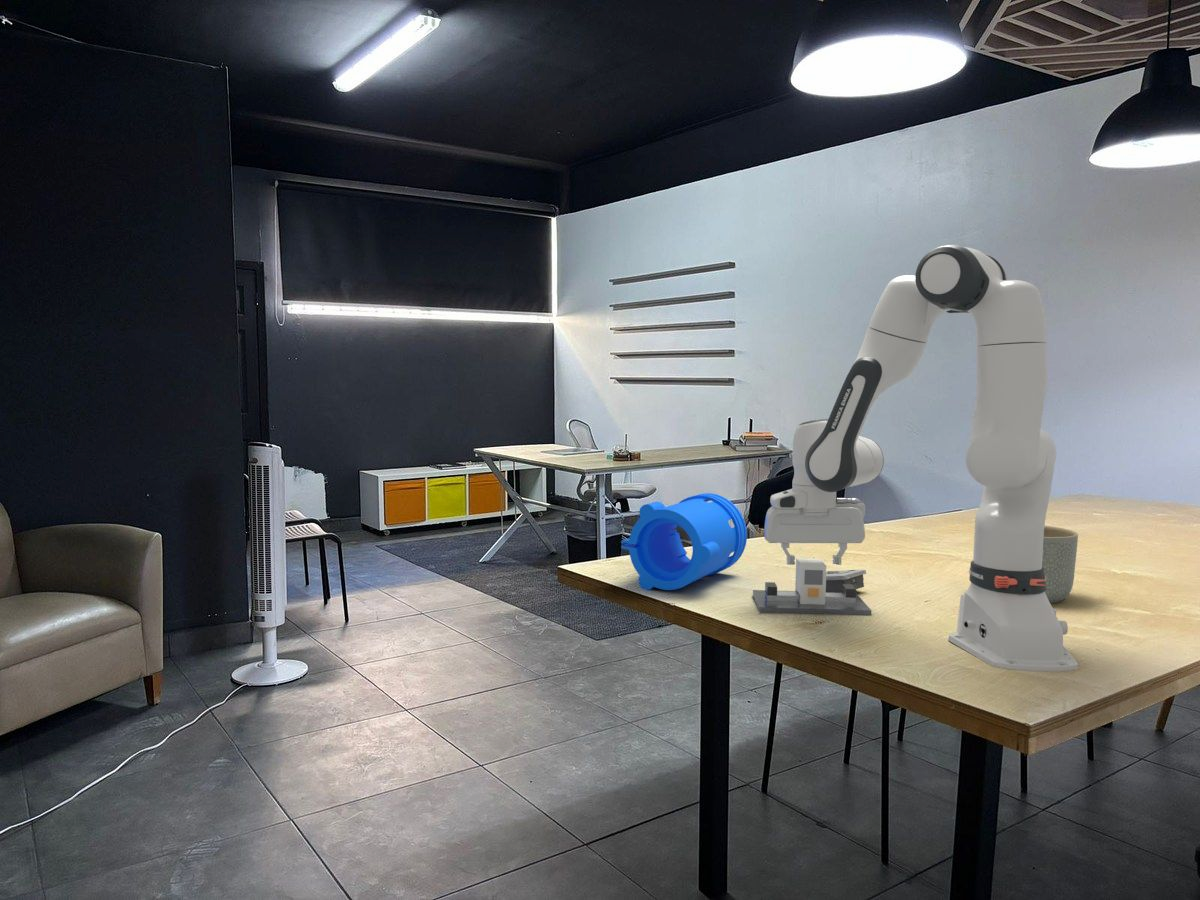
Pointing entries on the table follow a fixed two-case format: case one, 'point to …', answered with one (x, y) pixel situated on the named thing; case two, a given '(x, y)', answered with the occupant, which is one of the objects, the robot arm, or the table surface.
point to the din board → (790, 604)
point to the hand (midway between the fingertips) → (813, 564)
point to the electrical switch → (844, 579)
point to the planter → (1059, 561)
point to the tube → (663, 551)
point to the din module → (810, 580)
